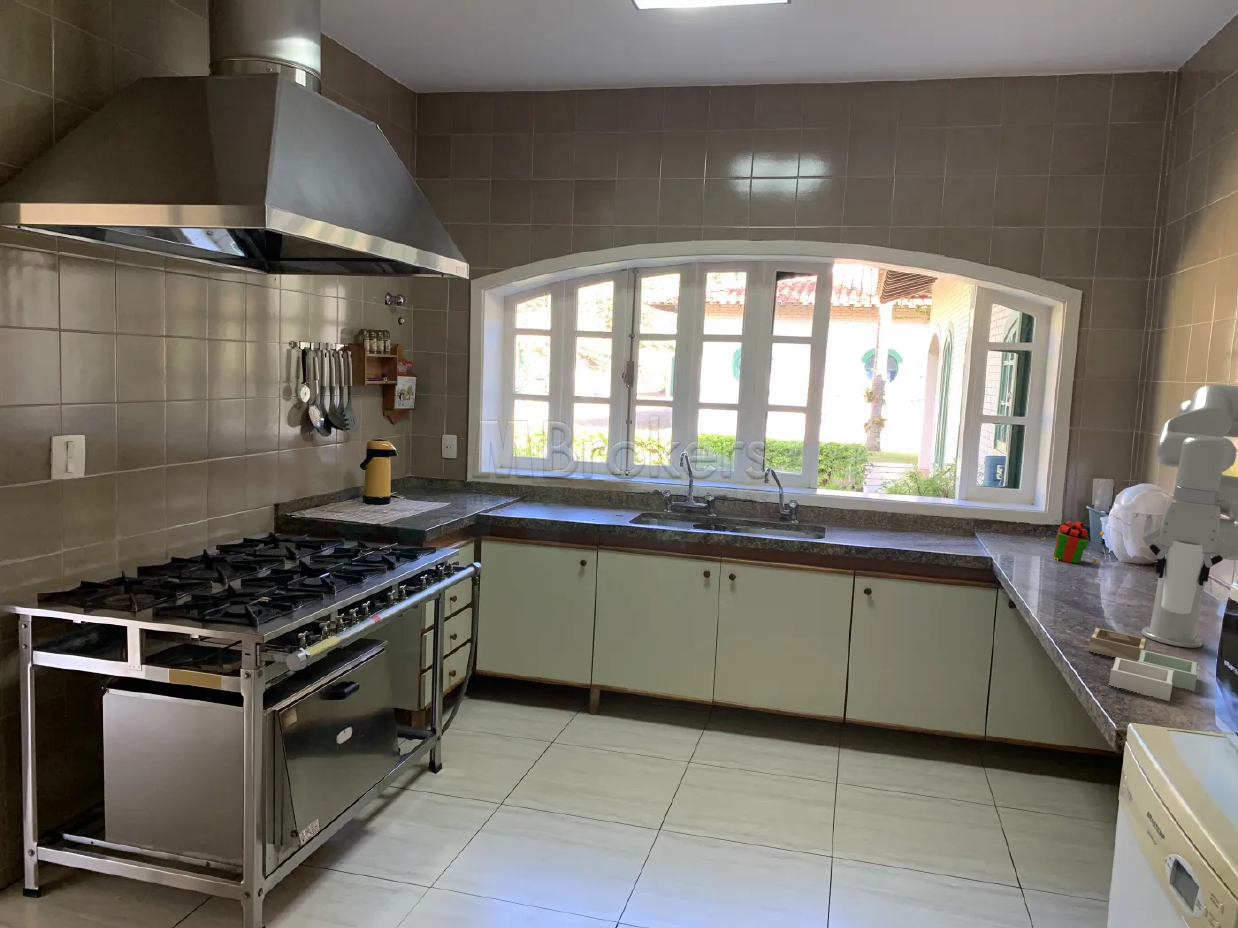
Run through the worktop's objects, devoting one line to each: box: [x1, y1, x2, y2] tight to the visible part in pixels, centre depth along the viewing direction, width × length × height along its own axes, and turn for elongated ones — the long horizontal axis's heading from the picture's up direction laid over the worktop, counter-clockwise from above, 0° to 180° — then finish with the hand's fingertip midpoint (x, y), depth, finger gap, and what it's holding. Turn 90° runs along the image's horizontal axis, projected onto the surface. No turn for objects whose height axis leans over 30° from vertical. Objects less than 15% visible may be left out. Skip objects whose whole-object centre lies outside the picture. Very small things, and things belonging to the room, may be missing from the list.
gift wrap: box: [1040, 520, 1106, 565], centre depth 298 cm, size 20×19×14 cm
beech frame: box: [1087, 627, 1148, 662], centre depth 198 cm, size 10×11×4 cm
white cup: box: [1161, 541, 1204, 614], centre depth 180 cm, size 7×7×15 cm
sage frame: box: [1138, 649, 1198, 692], centre depth 183 cm, size 10×11×4 cm
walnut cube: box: [1106, 633, 1131, 645], centre depth 198 cm, size 4×4×4 cm
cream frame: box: [1108, 657, 1174, 702], centre depth 176 cm, size 10×11×4 cm
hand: (1180, 579), depth 180 cm, fingers closed on white cup, 6 cm apart
